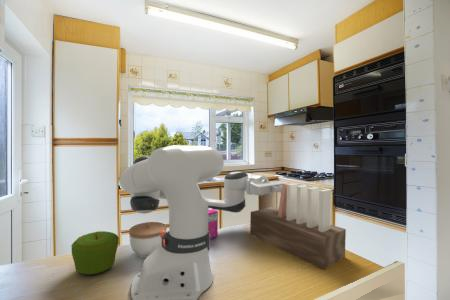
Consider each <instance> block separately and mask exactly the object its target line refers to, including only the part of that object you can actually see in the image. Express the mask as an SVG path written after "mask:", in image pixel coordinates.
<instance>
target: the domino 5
mask: <svg viewBox="0 0 450 300" xmlns="http://www.w3.org/2000/svg"><path fill="white" fill-rule="evenodd" d="M331 211H332V189H331V188H330V189H329V188H325V189H319V222H318V231H320V232H325V231H327V230H329V229H330V225H331V223H332V221H331V219H332V218H331V217H332V216H331V214H332V212H331Z"/></svg>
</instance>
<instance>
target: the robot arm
mask: <svg viewBox="0 0 450 300" xmlns="http://www.w3.org/2000/svg"><path fill="white" fill-rule="evenodd" d="M223 169H224V158H223V155H222V153H221V152H220V151H219V150H218V149H216V148H213V147H211V146H206V145H187V144H186V145H182V144H181V145H180V144H179V145H178V144H177V145H168V146H164V147H159V148H157V149H155V150H153V151H152V152H151V154H150V155H148V156H146V155H145V156H140V157H137V158H135V159H134V161H133V162H132V164H131V165H130V166H128V167H127V168H126V169H125V170H123V172H122V173H120V178H119V183H120V186H121V188H122V189H123V191H124V192H126V193H129V194H130V201H129V205H130V208H131V210H132V211H134V212H136V213H138V214H144V215H145V214H150V213H152V212H154V211H157V209H158V208H159V204H160V199H162V200H163V199H164V200H166V201H167V206H168V222H169V224H168V227H169V229H168V231H167V229H166V230H162V231H161V232H160V237H161V238H162V246H160V247H159V248H158V249H157V250H155V251H154V252H153V253H152V254H150V255H149V256H148V257H147V258H144V259H145V260H144V261H143V263H142V266H141V269H140V271H139V272H138V273H137V274H136V275H135V276H134V277H133V280H132V282H131V288H130V298H131V300H199V297H200V296H201V294H202V293H203V292H204V291H207V290H208V288H209V287H210V286H211V285H212V284H213V282H214V276H213V271H212V269H211V261H210V254H209V251H210V247H211V239H210V234H209V230H208V208H212V209H214V210H216V211H225V212H229V213H240V212H242V211H243V210H244V209H245V208H246V195H252V196H253V195H255V196H265V195H268V194H274V193H280V194H281V190H282V183H288V182H289V181H284V180H269V178H268V177H267V176H265V175H260V174H252V173H250V172H249V173H248V172H245V171H238V170H236V171H235V170H234V171H229V172H228V173H227V174H226V175H224V179H223V188H224V190H223V191H224V192H223V193H224V194H223V199H215V198H208V197H205V196H204V195H203V193H202V191H201V189H200V186H199V184H198V183H204V182H207V181H210V180H212V179H214V178H215V177H217V176H219V175H220V173H221V172H222V171H223Z"/></svg>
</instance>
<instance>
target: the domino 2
mask: <svg viewBox="0 0 450 300" xmlns="http://www.w3.org/2000/svg"><path fill="white" fill-rule="evenodd" d="M297 186H299V184H298V183H294V182H293V184H287V207H286V220H288V221H291V220H295V219H296V209H297Z"/></svg>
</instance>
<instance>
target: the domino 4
mask: <svg viewBox="0 0 450 300" xmlns="http://www.w3.org/2000/svg"><path fill="white" fill-rule="evenodd" d="M319 190H320V187H318V186H313V187H308V188H307V227H308V228H313V227H315V226H318V222H319Z"/></svg>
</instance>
